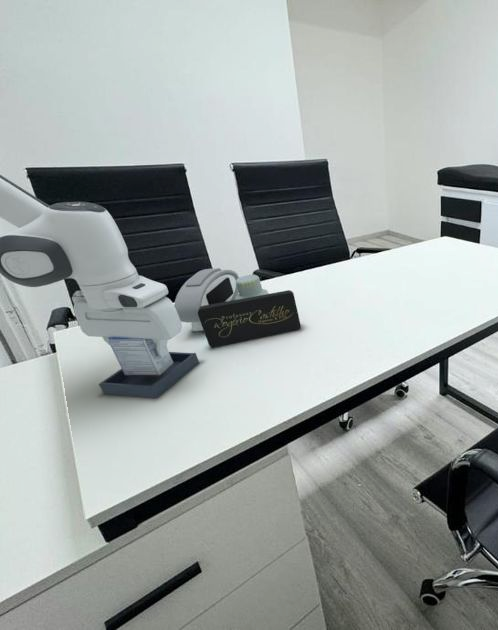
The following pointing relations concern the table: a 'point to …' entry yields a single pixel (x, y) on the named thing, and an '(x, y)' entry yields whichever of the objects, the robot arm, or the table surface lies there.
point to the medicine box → (139, 356)
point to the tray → (150, 378)
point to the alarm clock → (205, 293)
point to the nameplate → (249, 318)
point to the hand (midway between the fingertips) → (143, 354)
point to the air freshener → (249, 287)
